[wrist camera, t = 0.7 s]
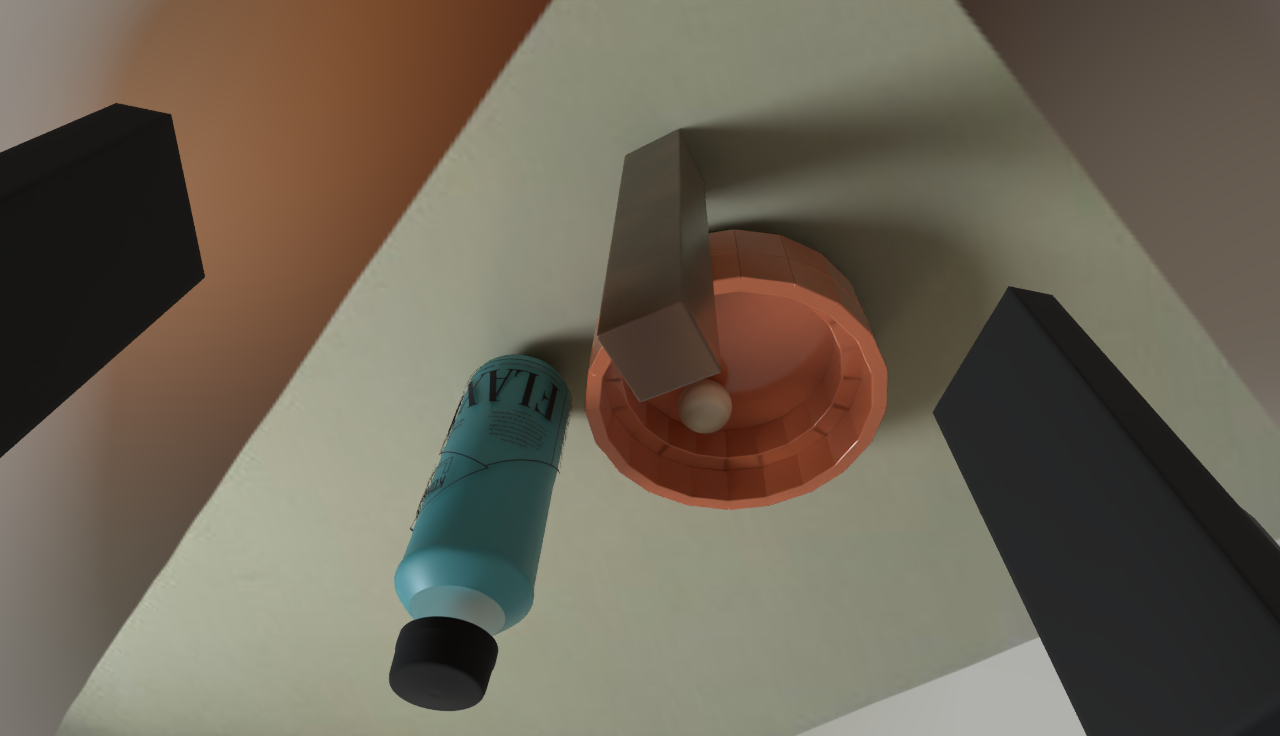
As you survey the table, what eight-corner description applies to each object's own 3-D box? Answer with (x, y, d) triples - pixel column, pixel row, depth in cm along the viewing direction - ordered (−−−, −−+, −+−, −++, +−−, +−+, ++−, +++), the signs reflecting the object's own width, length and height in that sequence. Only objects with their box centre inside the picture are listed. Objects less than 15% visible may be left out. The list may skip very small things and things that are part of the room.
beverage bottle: (585, 349, 41) (529, 663, 25) (566, 428, 45) (507, 742, 29) (478, 325, 40) (349, 633, 24) (467, 407, 44) (351, 719, 28)
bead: (692, 360, 40) (693, 395, 37) (739, 379, 41) (744, 414, 38) (668, 398, 42) (668, 433, 39) (714, 416, 43) (717, 451, 40)
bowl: (666, 173, 34) (665, 225, 30) (918, 291, 38) (954, 354, 33) (558, 389, 43) (544, 456, 38) (771, 468, 47) (782, 539, 42)
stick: (651, 206, 35) (639, 403, 23) (624, 155, 34) (594, 336, 21) (704, 181, 34) (722, 373, 22) (678, 128, 33) (682, 300, 20)
